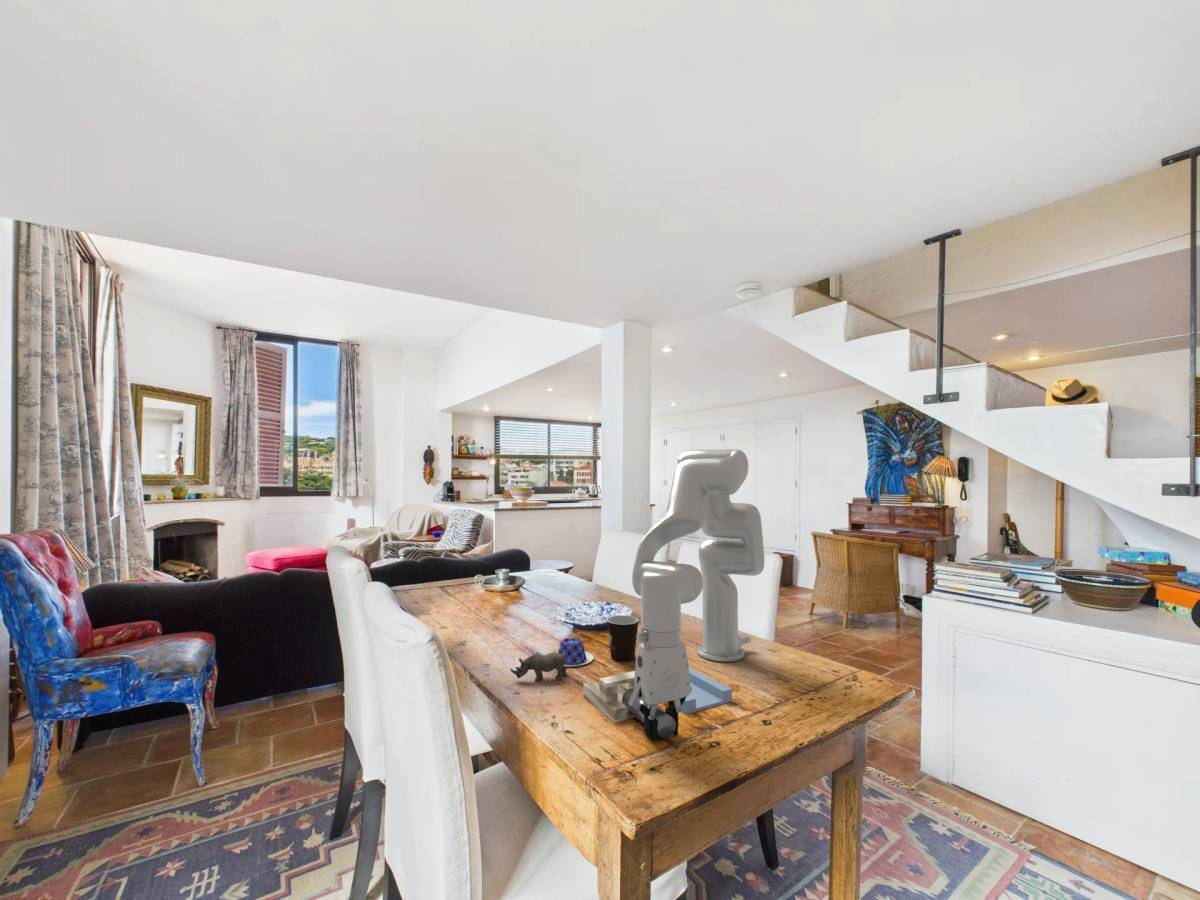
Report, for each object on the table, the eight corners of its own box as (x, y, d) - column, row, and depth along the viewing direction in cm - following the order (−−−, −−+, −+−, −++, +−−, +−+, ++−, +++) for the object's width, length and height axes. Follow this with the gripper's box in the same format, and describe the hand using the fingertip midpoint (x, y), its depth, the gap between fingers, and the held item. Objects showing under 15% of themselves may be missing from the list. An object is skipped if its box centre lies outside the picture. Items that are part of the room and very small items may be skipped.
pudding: (543, 656, 136) (543, 636, 137) (583, 650, 141) (583, 631, 141) (557, 672, 125) (557, 650, 126) (600, 665, 130) (600, 644, 130)
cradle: (690, 678, 121) (690, 667, 121) (731, 701, 109) (731, 688, 109) (648, 688, 115) (647, 677, 115) (686, 714, 103) (686, 701, 103)
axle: (621, 710, 103) (622, 690, 103) (637, 706, 105) (638, 686, 105) (657, 741, 91) (658, 718, 92) (675, 736, 93) (676, 714, 93)
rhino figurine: (509, 678, 121) (510, 653, 121) (565, 673, 124) (565, 648, 124) (510, 685, 117) (510, 659, 117) (568, 680, 120) (568, 654, 120)
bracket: (621, 686, 116) (621, 658, 116) (656, 711, 104) (656, 680, 104) (583, 695, 111) (583, 666, 112) (614, 722, 99) (614, 690, 99)
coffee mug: (636, 664, 130) (636, 625, 130) (604, 661, 131) (604, 623, 132) (641, 649, 141) (641, 613, 142) (611, 647, 143) (611, 611, 143)
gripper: (634, 649, 87) (634, 757, 87) (708, 635, 95) (709, 733, 95) (613, 637, 94) (613, 737, 93) (683, 624, 102) (684, 716, 101)
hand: (661, 733), depth 94 cm, fingers closed on axle, 4 cm apart
